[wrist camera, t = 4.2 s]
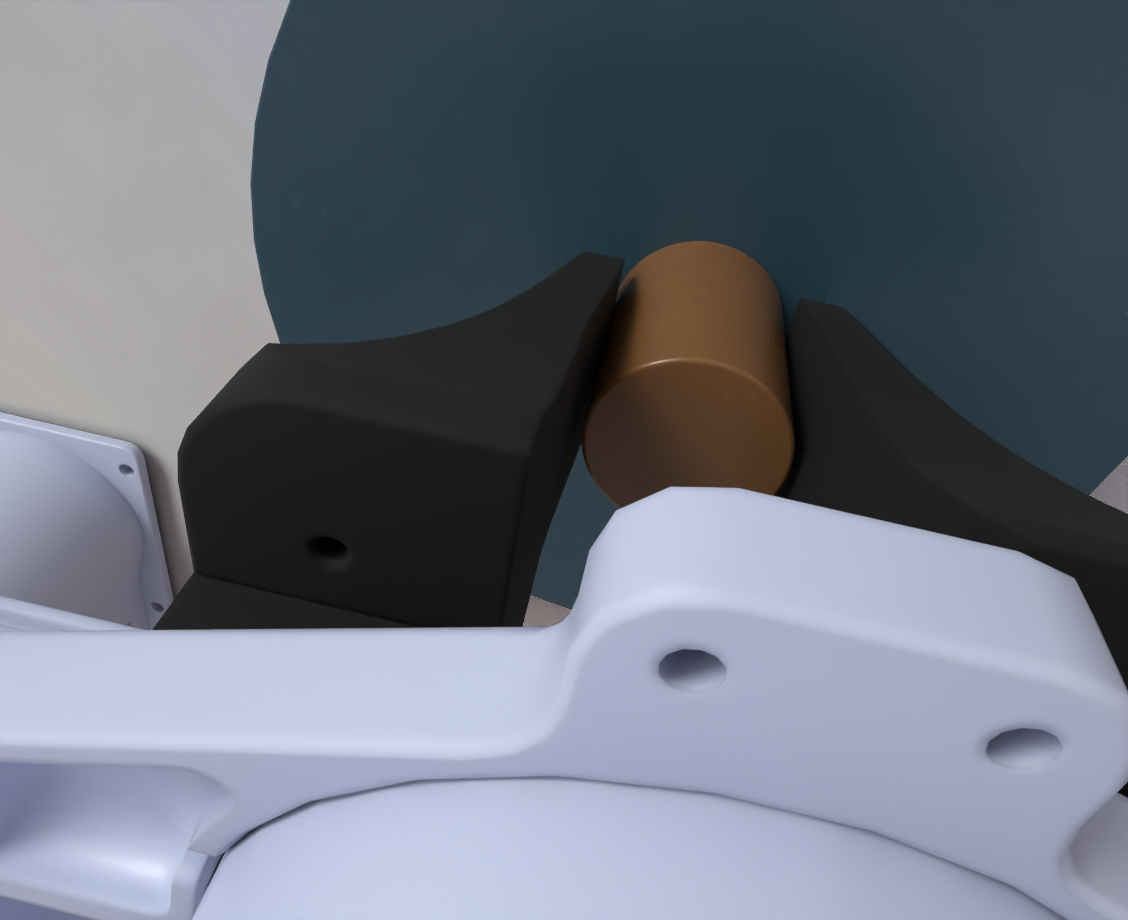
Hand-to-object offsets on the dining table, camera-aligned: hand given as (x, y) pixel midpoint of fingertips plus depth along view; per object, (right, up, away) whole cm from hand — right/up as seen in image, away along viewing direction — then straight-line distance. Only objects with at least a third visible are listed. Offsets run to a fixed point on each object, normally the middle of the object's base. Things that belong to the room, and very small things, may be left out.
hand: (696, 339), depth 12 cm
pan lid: (0, +1, +1) cm, 1 cm away
